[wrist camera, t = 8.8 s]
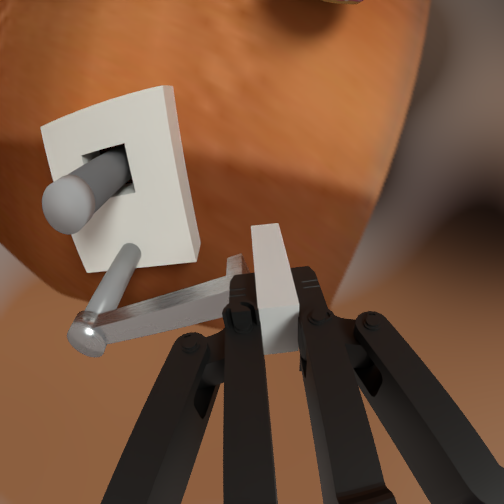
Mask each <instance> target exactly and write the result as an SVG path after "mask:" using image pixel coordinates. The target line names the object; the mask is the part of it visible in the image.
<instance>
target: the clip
mask: <svg viewBox="0 0 504 504" xmlns="http://www.w3.org/2000/svg"><path fill="white" fill-rule="evenodd" d="M247 273H250V271H249V269H248V267H247V265H246V262H245V260H244V258H243V256H242V253H241V254H238V255H235V256H232V257H229V258H227V274H226V276H224V277H221V278H218V279H215V280H211V281H208V282H205V283H202V284H198V285H195V286H192V287H189V288H185V289H182V290H179V291H175V292H172V293H169V294H165V295H162V296H159V297H155V298H152V299H149V300H145V301H142V302H139V303H135V304H132V305H128V306H125V307H122V308H118V309H115V310H111V311H108V312H104V313H101V314H96V313H94V312H91V311H81V312H79V313H78V314H77V316H76V318H75V320H74V321H73V323H72V325H71V327H70V329H69V331H68V333H67V338H68V341H69V342H70V344H71V345H72V346H73V347H74V348H75V349H76V350H77V351H79V352H80V353H82V354H84V355H87V356H90V357H100V356H102V354H103V353H104V351H105V348H106V345H107V344H110V343H115V342H120V341H125V340H130V339H134V338H139V337H143V336H148V335H152V334H156V333H161V332H165V331H169V330H173V329H177V328H181V327H186V326H190V325H194V324H198V323H201V322H205V321H209V320H213V319H217V318H220V317H223V316H222V312H223V308H224V307H225V306H226V305H227V304H229V291H230V290H229V287H230V281H231V279H232V278H233V276H234V275H237V274H247Z"/></svg>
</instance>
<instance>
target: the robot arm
mask: <svg viewBox="0 0 504 504" xmlns="http://www.w3.org/2000/svg"><path fill="white" fill-rule="evenodd" d="M251 232H252V244H253V256H254V269H255V273H247V274H237V275H234V276H233V278H232V279H231V281H230V287H229V290H230V291H229V304H227V305H226V306H225V307H224V308H223V312H222V316H223V320H224V324H225V328H224V329H223V330H222V331H220V332H219V333H216V334H214V335H212V336H208V337H204V336H203V335H202V334H199V333H196V332H194V333H187V334H183V335H182V336H180V337H179V338H178V339H177V340H176V341H175V343H174V345H173V346H172V349H171V351H170V353H169V355H168V357H167V359H166V361H165V363H164V365H163V367H162V369H161V371H160V373H159V375H158V377H157V379H156V382H155V384H154V386H153V388H152V390H151V392H150V394H149V396H148V398H147V401H146V403H145V405H144V407H143V409H142V411H141V414H140V416H139V418H138V420H137V422H136V424H135V426H134V429H133V431H132V434H131V435H130V437H129V440H128V442H127V444H126V446H125V449H124V451H123V453H122V455H121V458H120V460H119V462H118V464H117V467H116V469H115V471H114V474H113V476H112V478H111V481H110V483H109V485H108V488H107V490H106V492H105V495H104V497H103V500H102V502H101V504H181V501H182V498H183V496H184V493H185V490H186V486H187V484H188V480H189V478H190V475H191V472H192V469H193V466H194V463H195V460H196V456H197V454H198V451H199V448H200V445H201V442H202V439H203V436H204V433H205V429H206V427H207V423H208V420H209V417H210V414H211V411H212V408H213V405H214V402H215V399H216V396H217V392H218V389H219V387H220V384H221V383H223V382H224V426H223V427H224V429H223V430H224V431H223V434H224V435H223V436H224V437H223V484H224V485H223V492H224V504H278V501H277V489H276V479H275V467H274V456H273V445H272V434H271V423H270V412H269V401H268V391H267V379H266V368H265V359H264V355H266V354H275V353H284V352H292V351H298V348H299V350H300V371H302V375H303V381H304V386H305V392H306V397H307V403H308V409H309V414H310V420H311V426H312V432H313V438H314V444H315V451H316V457H317V463H318V469H319V476H320V483H321V489H322V496H323V503H324V504H397V503H396V500H395V497H394V495H393V493H392V492H391V491H390V490H389V489H388V488H387V487H386V485H385V482H384V479H383V475H382V470H381V466H380V462H379V459H378V455H377V451H376V447H375V443H374V439H373V436H372V432H371V428H370V425H369V421H368V418H367V414H366V411H365V408H364V404H363V400H362V397H361V394H360V391H359V388H360V389H361V391H362V392H363V394H364V396H365V397H366V398H367V400H368V402H369V403H370V405H371V407H372V408H373V410H374V411H375V413H376V415H377V416H378V418H379V419H380V421H381V423H382V424H383V426H384V427H385V429H386V431H387V432H388V434H389V435H390V437H391V439H392V440H393V442H394V443H395V445H396V447H397V448H398V450H399V452H400V453H401V455H402V457H403V458H404V460H405V461H406V463H407V465H408V466H409V468H410V470H411V471H412V473H413V475H414V476H415V478H416V480H417V481H418V483H419V485H420V486H421V488H422V490H423V491H424V493H425V495H426V496H427V498H428V500H429V501H430V502H431V504H504V468H503V467H501V466H500V465H499V464H498V463H497V461H496V460H495V458H494V456H493V455H492V454H491V452H490V451H489V449H488V448H487V446H486V445H485V443H484V442H483V440H482V439H481V438H480V436H479V435H478V433H477V432H476V430H475V429H474V428H473V426H472V425H471V423H470V422H469V421H468V419H467V418H466V417H465V415H464V414H463V413H462V411H461V410H460V409H459V407H458V406H457V405H456V403H455V402H454V401H453V399H452V398H451V397H450V395H449V394H448V393H447V391H446V390H445V389H444V388H443V386H442V385H441V384H440V382H439V381H438V380H437V379H436V377H435V376H434V375H433V374H432V373H431V371H430V370H429V369H428V367H427V366H426V365H425V364H424V362H423V361H422V360H421V359H420V358H419V357H418V355H417V354H416V353H415V352H414V350H413V349H412V348H411V347H410V346H409V344H408V343H407V342H406V341H405V340H404V338H403V337H402V336H401V335H400V334H399V333H398V331H397V330H396V329H395V328H394V327H393V326H392V324H391V323H390V322H389V321H388V320H387V319H386V318H385V317H384V316H383V315H382V314H379V313H377V312H372V311H368V312H364V313H362V314H360V315H358V317H357V318H356V320H353V319H344V318H340V317H337V316H335V315H334V314H333V312H332V311H330V310H329V309H328V307H327V305H326V302H325V299H324V296H323V293H322V290H321V288H320V285H319V282H318V280H317V277H316V274H315V272H314V271H313V270H312V269H311V268H310V267H309V266H305V267H296V268H290V266H289V262H288V258H287V254H286V250H285V247H284V243H283V239H282V235H281V232H280V228H279V224H278V223H275V224H265V225H256V226H251ZM358 386H359V387H358Z"/></svg>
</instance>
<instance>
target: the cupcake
mask: <svg viewBox="0 0 504 504" xmlns="http://www.w3.org/2000/svg"><path fill="white" fill-rule="evenodd" d="M321 1H325V2H330V3H338V4H358V3H360V2H361V1H363V0H321Z"/></svg>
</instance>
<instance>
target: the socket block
mask: <svg viewBox="0 0 504 504" xmlns="http://www.w3.org/2000/svg"><path fill="white" fill-rule="evenodd" d="M41 133H42V137H43V142H44V146H45V151H46V155H47V159H48V163H49V167H50V171H51V174H52V178H53V181H54V182H55V181H56V180H58V179H59V178H61V177H62V176H65V175H68V174H69V173H71V172H73V171H74V170H76V169H77V168H79V167H81V166H82V165H84V164H86V163H87V162H89V161H91V160H93V159H94V158H96V157H98V156H100V152H99V150H101V149H105V148H108V147H112V146H116V145H119V144H123V143H124V144H125V149H126V153H127V158H128V162H129V167H130V171H131V175H132V180H133V183H130V184H125V185H123V186H122V187H121V188H120V189H119V190H118V191H117V192H116V193H115V194H114V195H113V196H111V197H110V198H109V199H108V200H107V201H106V202H105V203H104V204H103V205H102V206H101V207H100V208H99V209H98V210H97V211H96V212H95V213H94V214H93V216H92V218H91V219H90V220H89V221H88V222H87V223H86V224H85V226H84V227H83V228H82V229H81V230H80V231H78V232H77V233H75V234H71V235H72V238H73V240H74V243H75V245H76V248H77V250H78V253H79V255H80V258H81V260H82V262H83V265H84V267H85V269H86V272H87V273H91V272H101V271H107V272H106V274H105V275H104V277H103V279H102V281H101V282H100V284H99V286H98V288H97V289H96V291H95V293H94V295H93V296H92V298H91V300H90V302H89V304H88V305H87V307H86V309H85V311H91V312H94V313H96V314H101V313H104V312H108V311H111V310H115V309H117V306H118V304H119V302H120V300H121V298H122V295H123V293H124V291H125V289H126V287H127V285H128V283H129V280H130V278H131V276H132V274H133V272H134V270H135V268H141V267H151V266H161V265H171V264H180V263H190V262H197V257H198V253H199V248H200V244H201V242H200V237H199V233H198V228H197V223H196V218H195V213H194V208H193V203H192V198H191V193H190V187H189V182H188V177H187V171H186V166H185V160H184V154H183V149H182V143H181V137H180V130H179V124H178V118H177V111H176V104H175V98H174V90H173V86H166V85H162V86H157V87H153V88H149V89H145V90H141V91H138V92H134V93H130V94H127V95H124V96H120V97H117V98H114V99H111V100H107V101H104V102H101V103H98V104H96V105H93V106H90V107H87V108H84V109H82V110H79V111H76V112H74V113H71V114H69V115H66V116H64V117H62V118H59V119H57V120H55V121H52V122H50V123H48V124H46V125H43V126H41Z"/></svg>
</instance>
